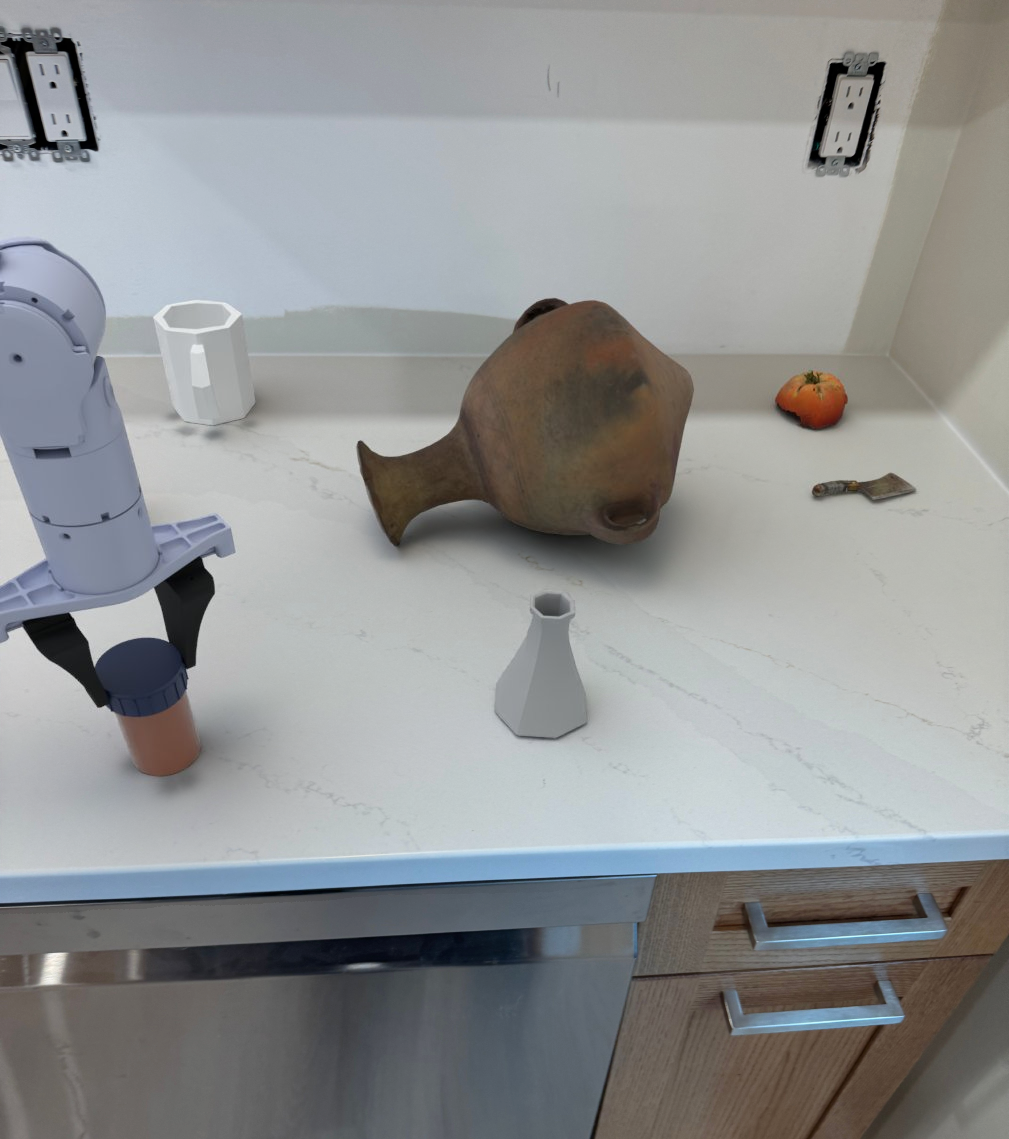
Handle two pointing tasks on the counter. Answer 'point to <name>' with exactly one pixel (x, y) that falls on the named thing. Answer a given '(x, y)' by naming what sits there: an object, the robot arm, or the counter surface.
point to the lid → (142, 676)
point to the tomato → (814, 398)
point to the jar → (162, 739)
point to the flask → (543, 674)
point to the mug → (205, 361)
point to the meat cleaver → (866, 487)
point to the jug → (552, 432)
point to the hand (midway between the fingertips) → (142, 677)
